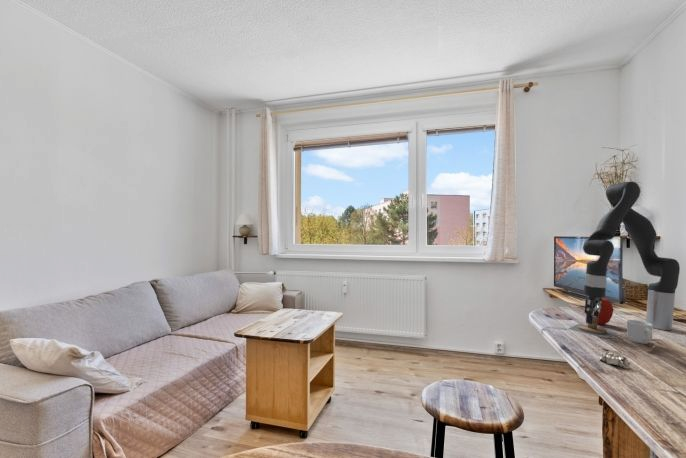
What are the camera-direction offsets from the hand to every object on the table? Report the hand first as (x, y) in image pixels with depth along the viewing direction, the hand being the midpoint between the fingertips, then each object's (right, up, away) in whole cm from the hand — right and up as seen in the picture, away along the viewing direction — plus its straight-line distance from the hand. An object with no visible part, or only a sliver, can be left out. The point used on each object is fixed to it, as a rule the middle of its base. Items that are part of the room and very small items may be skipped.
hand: (592, 322), depth 146 cm
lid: (0, -4, 0) cm, 4 cm away
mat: (0, -4, 0) cm, 4 cm away
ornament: (-19, -4, -36) cm, 41 cm away
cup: (+10, -5, -12) cm, 17 cm away
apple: (+13, -5, +13) cm, 19 cm away
